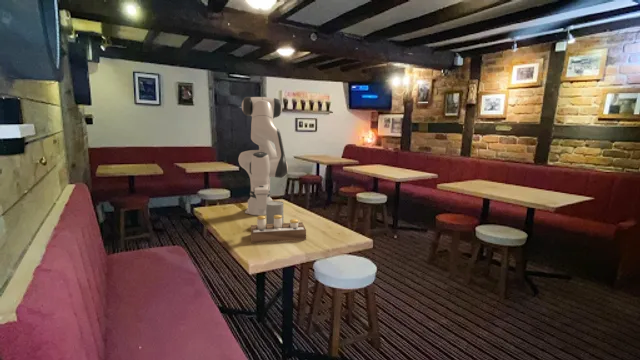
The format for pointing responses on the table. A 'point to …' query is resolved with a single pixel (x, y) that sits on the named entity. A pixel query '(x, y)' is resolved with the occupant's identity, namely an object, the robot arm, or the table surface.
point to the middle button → (277, 221)
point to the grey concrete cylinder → (273, 211)
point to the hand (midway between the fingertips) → (261, 214)
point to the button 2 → (293, 223)
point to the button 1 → (261, 222)
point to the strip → (278, 229)
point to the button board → (277, 234)
